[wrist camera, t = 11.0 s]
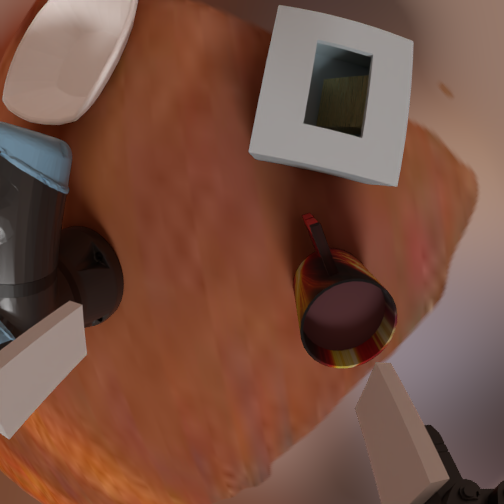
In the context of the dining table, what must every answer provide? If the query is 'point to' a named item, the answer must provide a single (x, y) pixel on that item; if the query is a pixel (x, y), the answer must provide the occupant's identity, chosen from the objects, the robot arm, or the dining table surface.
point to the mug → (340, 305)
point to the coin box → (310, 88)
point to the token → (343, 104)
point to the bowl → (67, 58)
